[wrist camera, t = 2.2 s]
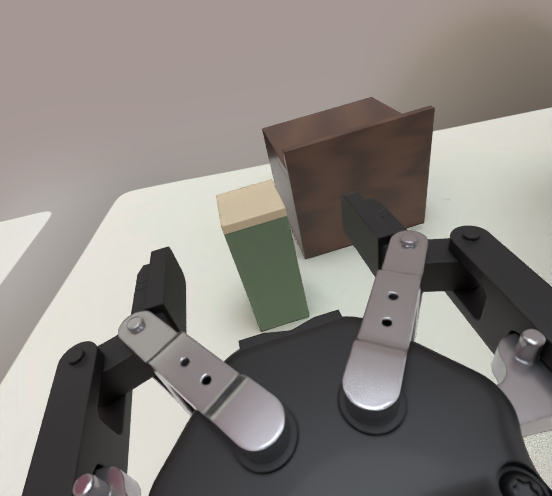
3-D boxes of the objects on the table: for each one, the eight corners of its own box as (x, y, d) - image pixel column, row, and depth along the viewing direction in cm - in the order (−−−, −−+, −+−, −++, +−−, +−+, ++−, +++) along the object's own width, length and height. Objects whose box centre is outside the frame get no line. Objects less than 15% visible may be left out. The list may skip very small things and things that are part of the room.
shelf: (373, 174, 51) (371, 78, 43) (424, 222, 40) (435, 107, 32) (279, 202, 50) (257, 111, 42) (305, 259, 40) (283, 151, 31)
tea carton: (296, 282, 37) (271, 178, 29) (309, 316, 33) (285, 207, 25) (252, 296, 37) (215, 195, 29) (261, 331, 33) (220, 226, 25)
